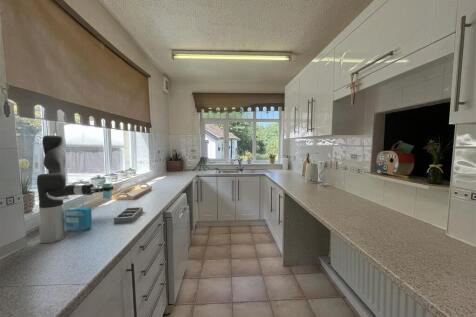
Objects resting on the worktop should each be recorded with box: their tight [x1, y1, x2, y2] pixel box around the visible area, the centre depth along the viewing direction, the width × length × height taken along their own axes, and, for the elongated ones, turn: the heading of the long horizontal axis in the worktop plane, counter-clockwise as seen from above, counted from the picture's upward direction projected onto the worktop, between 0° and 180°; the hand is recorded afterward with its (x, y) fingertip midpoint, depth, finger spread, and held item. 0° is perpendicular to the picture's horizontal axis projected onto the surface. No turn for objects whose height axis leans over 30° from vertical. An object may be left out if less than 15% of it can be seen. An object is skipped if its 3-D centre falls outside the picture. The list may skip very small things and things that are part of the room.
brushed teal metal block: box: [102, 181, 113, 199], centre depth 150 cm, size 4×4×10 cm
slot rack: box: [113, 206, 144, 224], centre depth 146 cm, size 22×11×4 cm, turn 8°
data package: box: [64, 206, 93, 232], centre depth 125 cm, size 12×4×12 cm, turn 89°
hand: (111, 188), depth 150 cm, fingers closed on brushed teal metal block, 3 cm apart
